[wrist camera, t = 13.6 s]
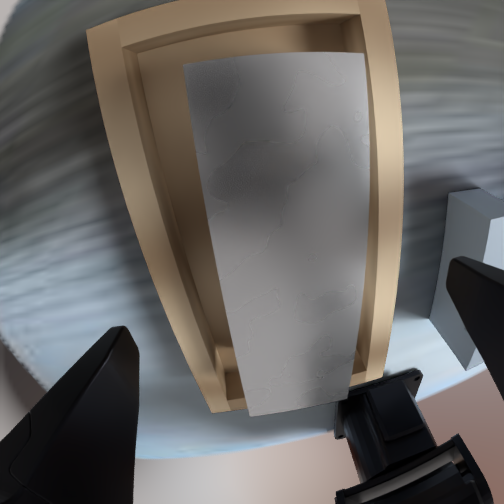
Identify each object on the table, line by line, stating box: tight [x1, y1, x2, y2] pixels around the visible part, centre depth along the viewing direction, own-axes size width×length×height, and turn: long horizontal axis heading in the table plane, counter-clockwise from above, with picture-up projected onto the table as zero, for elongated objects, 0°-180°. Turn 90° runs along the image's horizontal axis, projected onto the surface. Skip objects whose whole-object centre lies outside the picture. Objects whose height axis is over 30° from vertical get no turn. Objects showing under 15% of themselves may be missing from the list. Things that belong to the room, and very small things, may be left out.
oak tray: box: [86, 0, 404, 413], centre depth 12 cm, size 17×9×3 cm, turn 9°
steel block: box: [183, 52, 370, 417], centre depth 10 cm, size 12×4×4 cm, turn 6°
